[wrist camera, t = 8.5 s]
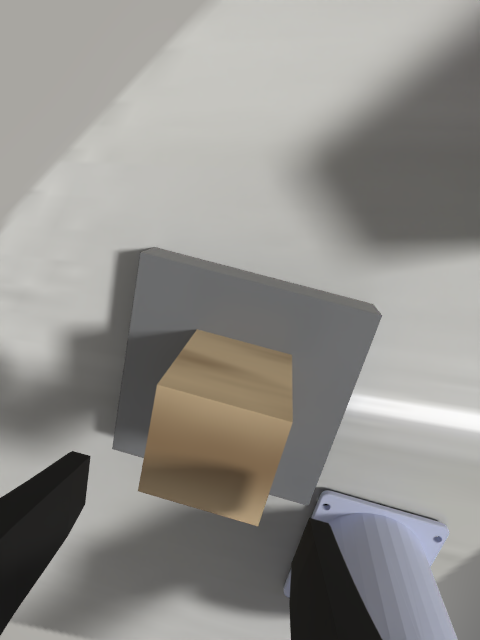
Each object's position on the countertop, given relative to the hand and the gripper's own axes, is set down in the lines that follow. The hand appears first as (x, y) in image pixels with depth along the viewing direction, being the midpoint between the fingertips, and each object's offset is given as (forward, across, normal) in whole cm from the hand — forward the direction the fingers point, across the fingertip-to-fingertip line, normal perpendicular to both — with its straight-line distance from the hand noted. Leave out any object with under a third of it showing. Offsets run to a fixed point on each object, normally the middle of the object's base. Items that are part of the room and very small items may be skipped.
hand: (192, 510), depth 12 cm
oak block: (+8, 0, 0) cm, 8 cm away
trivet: (+10, 0, 0) cm, 10 cm away
